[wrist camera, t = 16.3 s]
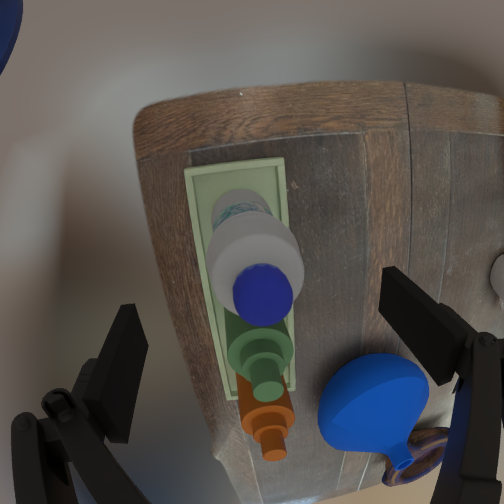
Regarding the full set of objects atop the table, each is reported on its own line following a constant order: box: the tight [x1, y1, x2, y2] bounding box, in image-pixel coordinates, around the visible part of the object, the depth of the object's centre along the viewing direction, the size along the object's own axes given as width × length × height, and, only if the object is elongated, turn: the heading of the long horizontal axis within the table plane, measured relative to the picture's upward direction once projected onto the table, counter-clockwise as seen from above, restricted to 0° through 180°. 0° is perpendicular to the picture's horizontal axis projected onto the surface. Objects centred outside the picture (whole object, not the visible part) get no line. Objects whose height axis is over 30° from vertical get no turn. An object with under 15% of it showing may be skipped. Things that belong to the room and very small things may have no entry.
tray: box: [184, 157, 296, 400], centre depth 39 cm, size 34×11×2 cm, turn 6°
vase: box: [318, 353, 429, 471], centre depth 39 cm, size 18×18×19 cm
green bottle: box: [224, 307, 294, 402], centre depth 32 cm, size 6×6×16 cm
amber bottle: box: [236, 373, 295, 461], centre depth 36 cm, size 6×6×16 cm
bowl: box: [382, 427, 450, 487], centre depth 56 cm, size 18×18×10 cm
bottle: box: [206, 189, 304, 327], centre depth 26 cm, size 7×7×20 cm
